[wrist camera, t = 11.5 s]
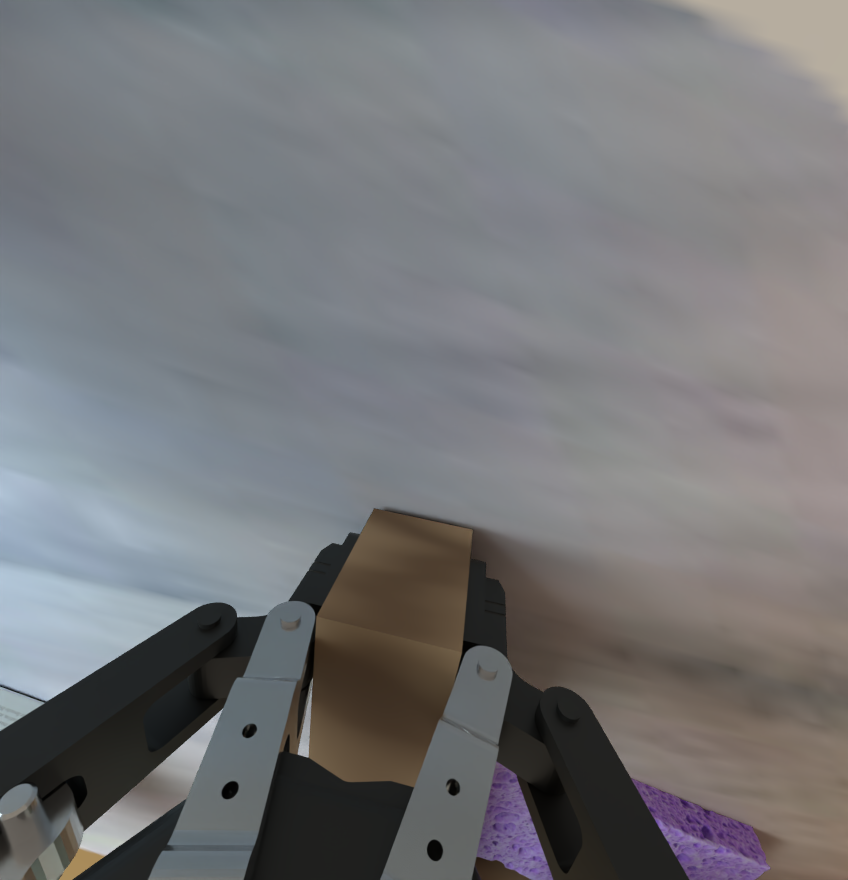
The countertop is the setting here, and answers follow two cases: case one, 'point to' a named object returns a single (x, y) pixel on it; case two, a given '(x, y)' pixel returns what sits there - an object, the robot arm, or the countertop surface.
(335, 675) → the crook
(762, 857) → the sponges
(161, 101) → the countertop surface
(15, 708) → the skincare box
